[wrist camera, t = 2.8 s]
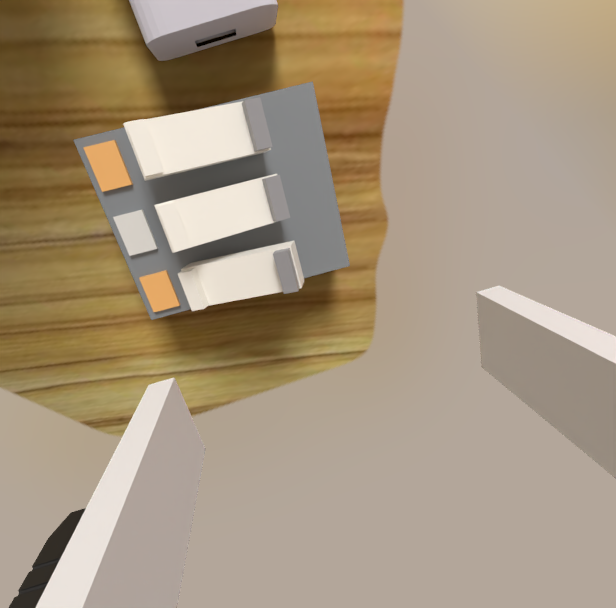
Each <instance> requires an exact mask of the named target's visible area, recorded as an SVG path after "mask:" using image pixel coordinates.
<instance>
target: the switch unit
mask: <svg viewBox="0 0 616 608" xmlns="http://www.w3.org/2000/svg"><path fill="white" fill-rule="evenodd" d="M258 97H260V98H261V102H262V106H263V110H264V114H265V118H266V122H267V126H268V130H269V134H270V138H271V142H272V146H273V147H271V150H269V151H267V152H265V153H261V154H257V155H253V156H248V157H244V158H240V159H236V160H231V161H227V162H223V163H219V164H214V165H210V166H206V167H202V168H197V169H193V170H189V171H185V172H181V173H176V174H172V175H168V176H164V177H159V178H155V179H151V180H147V181H145V180H144V177H143V174H142V172H141V169H140V167H139V164H138V161H137V159H136V156H135V154H134V151H133V148H132V146H131V143H130V140H129V138H128V135H127V133H126V130H125V127H124V128H120V129H116V130H112V131H108V132H104V133H100V134H95V135H91V136H87V137H83V138H79V139H75V140H74V143H75V145H76V147H77V149H78V152H79V154H80V156H81V159H82V161H83V163H84V166H85V168H86V170H87V173H88V175H89V177H90V179H91V182H92V184H93V186H94V189H95V191H96V193H97V196H98V198H99V200H100V203H101V205H102V207H103V209H104V212H105V214H106V216H107V219H108V221H109V223H110V226H111V228H112V230H113V233H114V235H115V237H116V239H117V242H118V244H119V246H120V249H121V251H122V253H123V256H124V258H125V260H126V263H127V265H128V267H129V269H130V272H131V274H132V276H133V279H134V281H135V283H136V286H137V288H138V290H139V293H140V295H141V297H142V299H143V302H144V304H145V306H146V309H147V311H148V313H149V316H150V318H151V320H153V319H157V318H160V317H164V316H168V315H171V314H175V313H179V312H182V311H186V310H190V309H191V308H190V305H189V302H188V300H187V297H186V295H185V292H184V289H183V287H182V284H181V282H180V279H179V276H178V273H180V272H181V269H182V268H184V267H185V266H186V265H188V264H189V263H192V262H197V261H201V260H206V259H211V258H215V257H220V256H225V255H229V254H234V253H238V252H243V251H248V250H252V249H257V248H262V247H266V246H271V245H276V244H280V243H285V242H290V241H295V245H296V249H297V253H298V257H299V261H300V265H301V269H302V273H303V277H304V278H307V277H311V276H314V275H318V274H322V273H325V272H329V271H333V270H336V269H340V268H344V267H347V266H350V264H349V259H348V254H347V249H346V244H345V239H344V235H343V230H342V225H341V220H340V215H339V210H338V205H337V200H336V195H335V190H334V185H333V180H332V175H331V170H330V165H329V160H328V155H327V150H326V145H325V140H324V135H323V130H322V125H321V121H320V116H319V111H318V106H317V101H316V96H315V91H314V86H313V82H309V83H305V84H301V85H297V86H293V87H289V88H284V89H280V90H276V91H272V92H268V93H264V94H260V95H256V96H252V97H247V98H243V99H239V100H235V101H231V102H227V103H223V104H219V105H215V106H220V105H226V104H231V103H236V102H242V101H244V100H248V99H253V98H258ZM215 106H210V107H215ZM210 107H206V108H210ZM202 109H204V108H202ZM198 110H199V109H198ZM273 174H277V175H280V178H281V182H282V186H283V190H284V194H285V198H286V202H287V206H288V210H289V214H290V218H288V219H284V220H281V221H278V222H274V223H271V224H268V225H264V226H261V227H258V228H254V229H251V230H248V231H244V232H241V233H238V234H234V235H231V236H228V237H224V238H221V239H217V240H214V241H211V242H207V243H204V244H201V245H197V246H194V247H191V248H188V249H184V250H181V251H178V252H174V253H172V250H171V248H170V245H169V243H168V240H167V237H166V235H165V232H164V229H163V227H162V224H161V222H160V219H159V216H158V214H157V211H156V209H155V206H154V205H156V204H160V203H164V202H168V201H172V200H176V199H180V198H183V197H187V196H191V195H195V194H199V193H203V192H207V191H211V190H215V189H218V188H222V187H226V186H230V185H234V184H238V183H242V182H246V181H250V180H254V179H257V178H261V177H265V176H269V175H273Z"/></svg>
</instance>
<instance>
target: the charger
mask: <svg viewBox="0 0 616 608" xmlns="http://www.w3.org/2000/svg"><path fill="white" fill-rule="evenodd" d="M129 2H130V5H131V7H132V10H133V12H134V15H135V18H136V20H137V23H138V25H139V28H140V30H141V33H142V36H143V38H144V41H145V43H146V46H147V47H148V48H149V50H150V51H151V52H152V53H153V55H154V56H155V57H156V58H157V60H159V61H166V60H171V59H174V58H177V57H181V56H184V55H187V54H191V53H194V52H197V51H200V50H204V49H207V48H210V47H213V46H217V45H220V44H223V43H227V42H230V41H233V40H236V39H240V38H243V37H246V36H249V35H253V34H256V33H259V32H262V31H265V30H268V29H270V28H272V27H273V26H274V25H275V24H276V17H277V10H278V4H277V0H129ZM233 32H236V36H233V37H229V38H226V39H223V40H219V41H216V42H213V43H210V44H206V45H203V46H200V47H197V45H196V44H197V43H201V42H204V41H207V40H210V39H214V38H217V37H220V36H223V35H227V34H230V33H233Z"/></svg>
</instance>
